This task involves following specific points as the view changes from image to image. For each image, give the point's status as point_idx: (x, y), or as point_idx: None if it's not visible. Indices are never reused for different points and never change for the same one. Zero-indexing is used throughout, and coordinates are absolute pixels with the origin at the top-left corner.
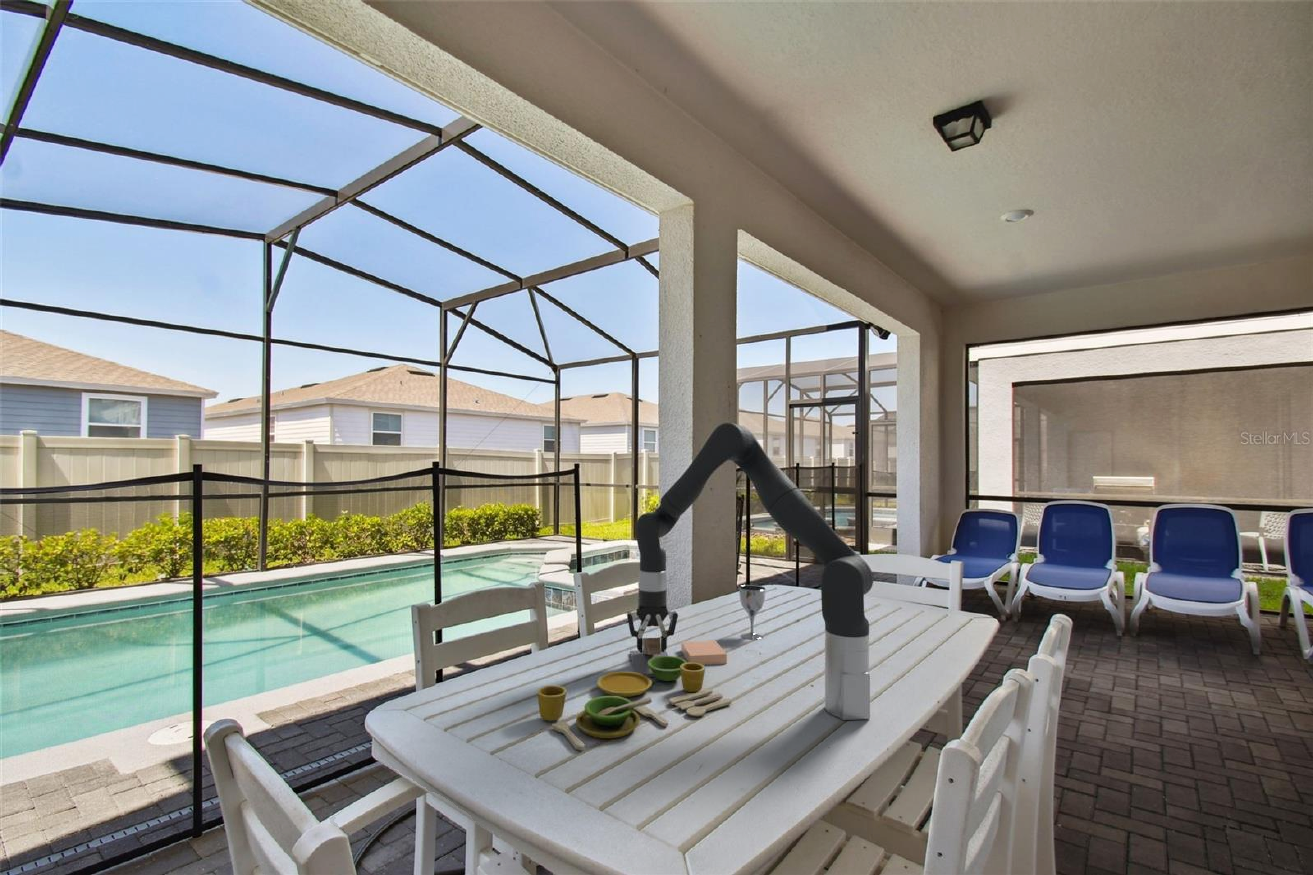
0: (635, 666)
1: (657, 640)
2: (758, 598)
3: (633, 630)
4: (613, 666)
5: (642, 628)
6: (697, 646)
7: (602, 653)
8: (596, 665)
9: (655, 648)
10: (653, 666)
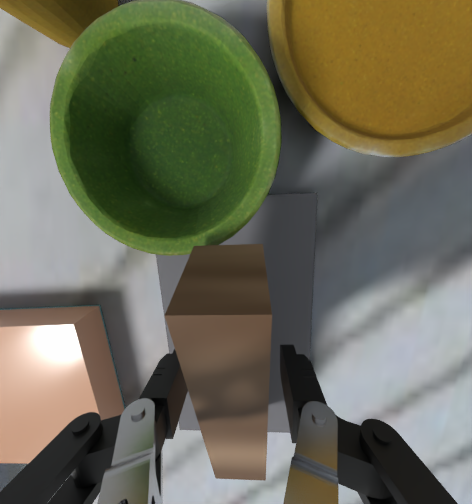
0: (307, 282)
1: (194, 299)
2: None
3: (400, 472)
4: (383, 315)
5: (323, 484)
6: (51, 416)
7: (400, 434)
8: (448, 330)
9: (219, 263)
10: (249, 73)
